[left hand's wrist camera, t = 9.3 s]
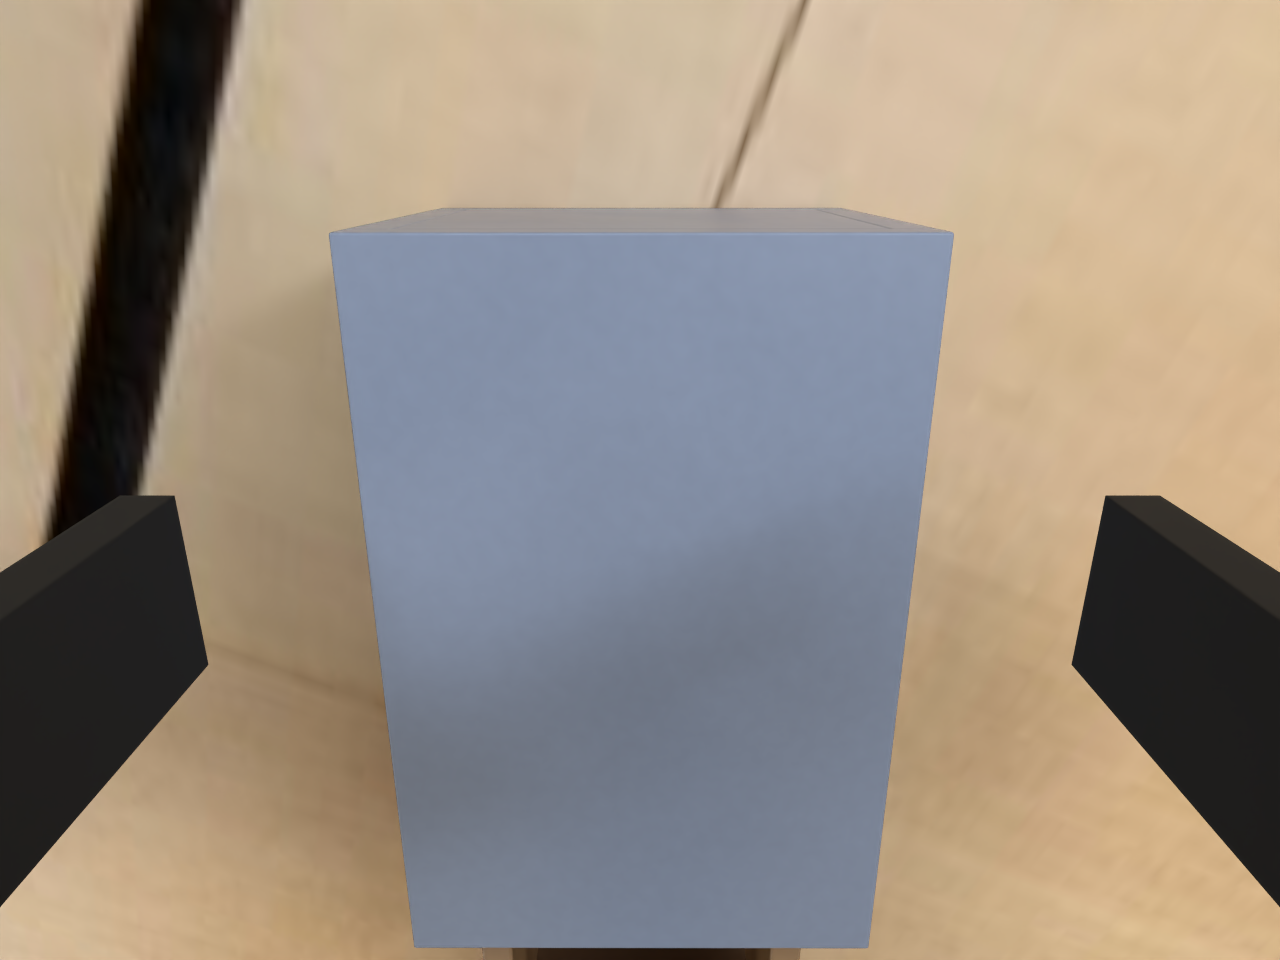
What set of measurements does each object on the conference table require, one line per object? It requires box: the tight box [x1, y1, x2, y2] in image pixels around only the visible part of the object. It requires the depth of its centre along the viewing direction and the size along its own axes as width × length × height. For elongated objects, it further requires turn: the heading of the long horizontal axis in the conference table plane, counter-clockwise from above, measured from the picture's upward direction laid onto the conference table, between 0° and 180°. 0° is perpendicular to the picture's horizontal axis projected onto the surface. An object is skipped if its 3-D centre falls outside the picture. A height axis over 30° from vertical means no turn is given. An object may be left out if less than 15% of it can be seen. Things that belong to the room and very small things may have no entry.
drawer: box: [482, 948, 800, 960], centre depth 26 cm, size 21×10×7 cm, turn 0°
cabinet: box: [329, 208, 954, 948], centre depth 22 cm, size 17×11×9 cm, turn 0°
